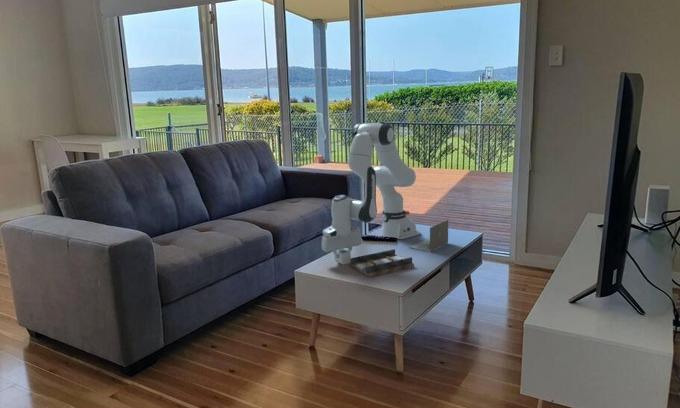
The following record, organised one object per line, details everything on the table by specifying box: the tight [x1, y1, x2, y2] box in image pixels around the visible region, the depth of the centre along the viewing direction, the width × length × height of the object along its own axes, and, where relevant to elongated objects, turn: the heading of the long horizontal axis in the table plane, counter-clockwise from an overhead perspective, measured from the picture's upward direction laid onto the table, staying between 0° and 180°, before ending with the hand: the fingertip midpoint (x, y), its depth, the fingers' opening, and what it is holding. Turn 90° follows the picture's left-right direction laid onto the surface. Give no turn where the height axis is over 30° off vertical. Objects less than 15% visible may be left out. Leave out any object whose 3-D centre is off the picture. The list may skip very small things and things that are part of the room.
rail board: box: [348, 248, 415, 278], centre depth 231 cm, size 24×18×4 cm
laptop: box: [409, 219, 449, 253], centre depth 258 cm, size 18×12×13 cm
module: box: [334, 248, 352, 265], centre depth 240 cm, size 4×9×5 cm, turn 24°
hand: (342, 257), depth 240 cm, fingers closed on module, 5 cm apart
